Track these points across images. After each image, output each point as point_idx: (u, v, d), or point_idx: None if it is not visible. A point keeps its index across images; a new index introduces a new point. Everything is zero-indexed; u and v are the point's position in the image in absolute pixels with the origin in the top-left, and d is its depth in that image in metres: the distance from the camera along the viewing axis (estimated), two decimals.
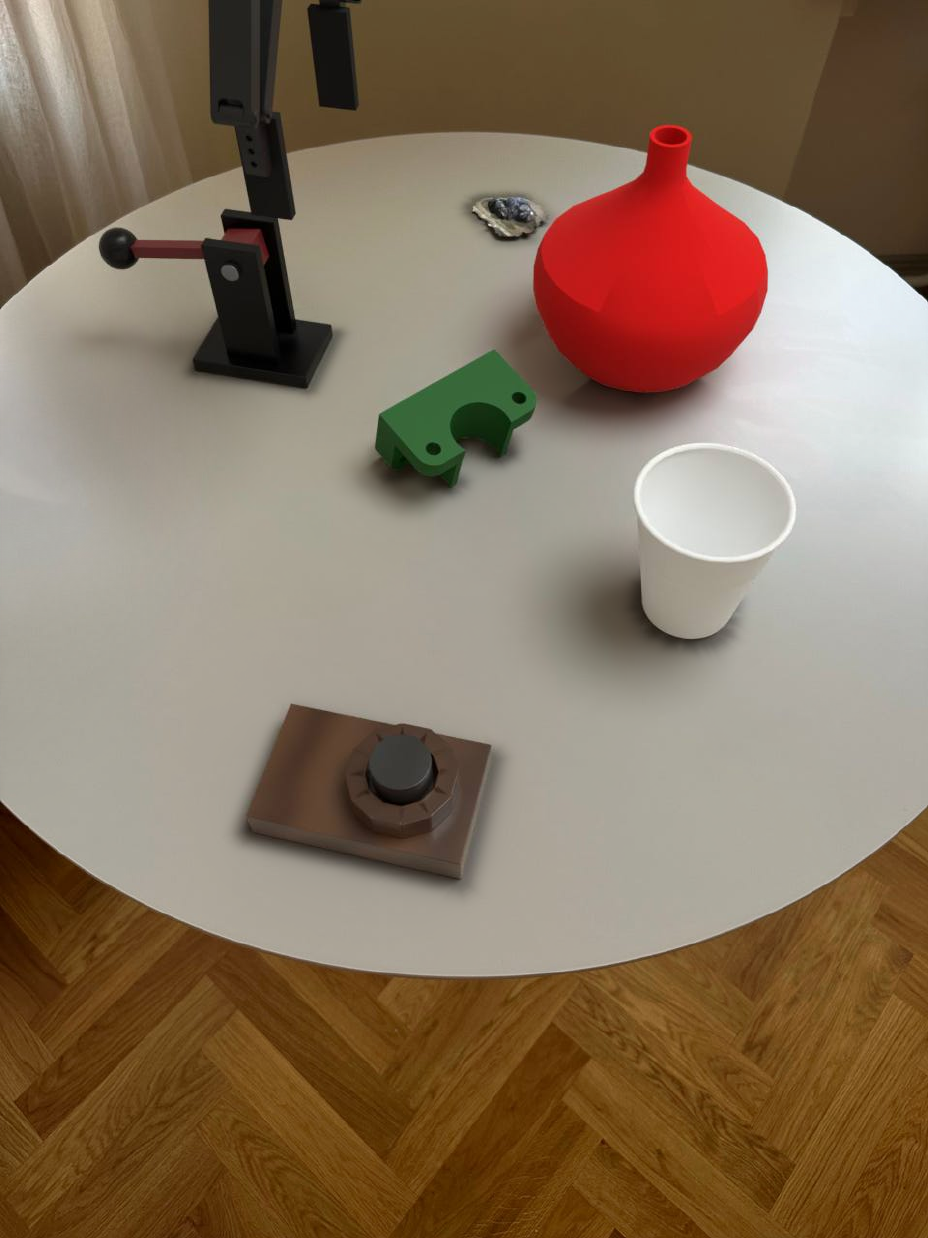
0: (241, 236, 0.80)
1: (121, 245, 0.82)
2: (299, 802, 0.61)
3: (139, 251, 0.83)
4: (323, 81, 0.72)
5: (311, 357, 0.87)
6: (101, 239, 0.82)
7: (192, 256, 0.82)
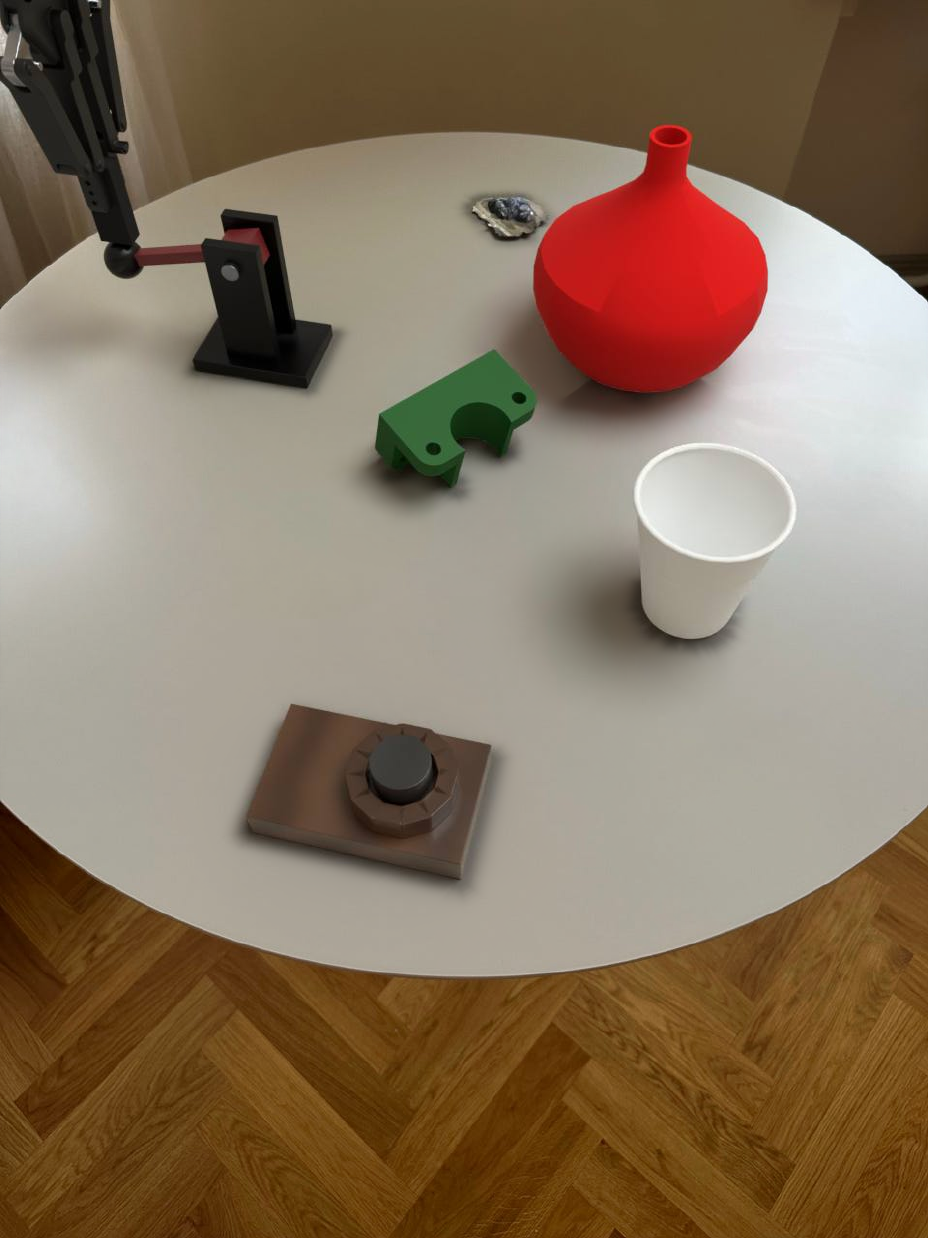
0: (240, 236, 0.80)
1: (125, 254, 0.83)
2: (299, 802, 0.61)
3: (143, 259, 0.83)
4: None
5: (311, 357, 0.87)
6: (105, 250, 0.83)
7: (194, 260, 0.82)
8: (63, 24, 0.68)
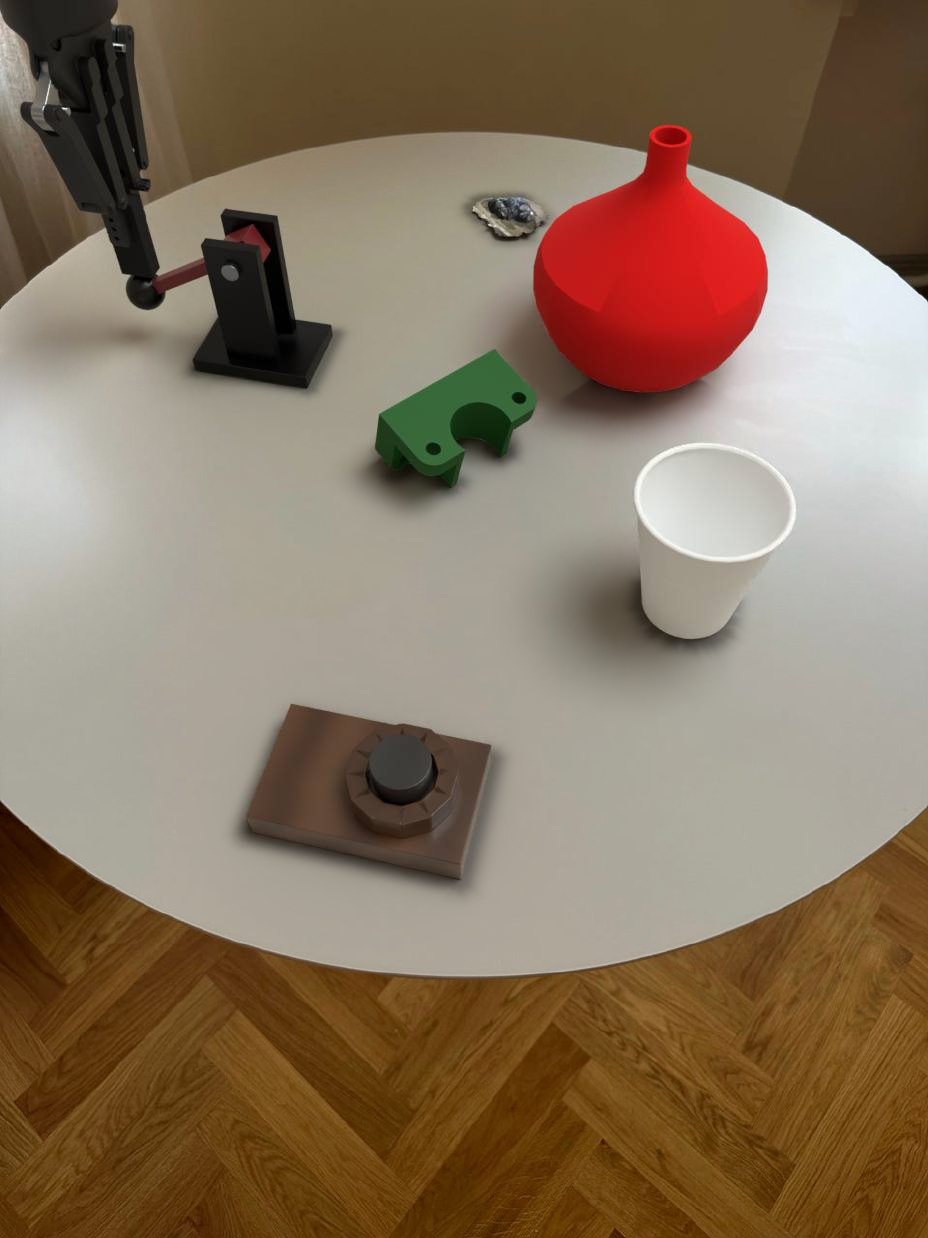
0: (236, 236, 0.80)
1: (142, 284, 0.85)
2: (299, 802, 0.61)
3: (159, 285, 0.85)
4: None
5: (311, 357, 0.87)
6: (126, 285, 0.86)
7: (203, 273, 0.83)
8: (90, 70, 0.70)
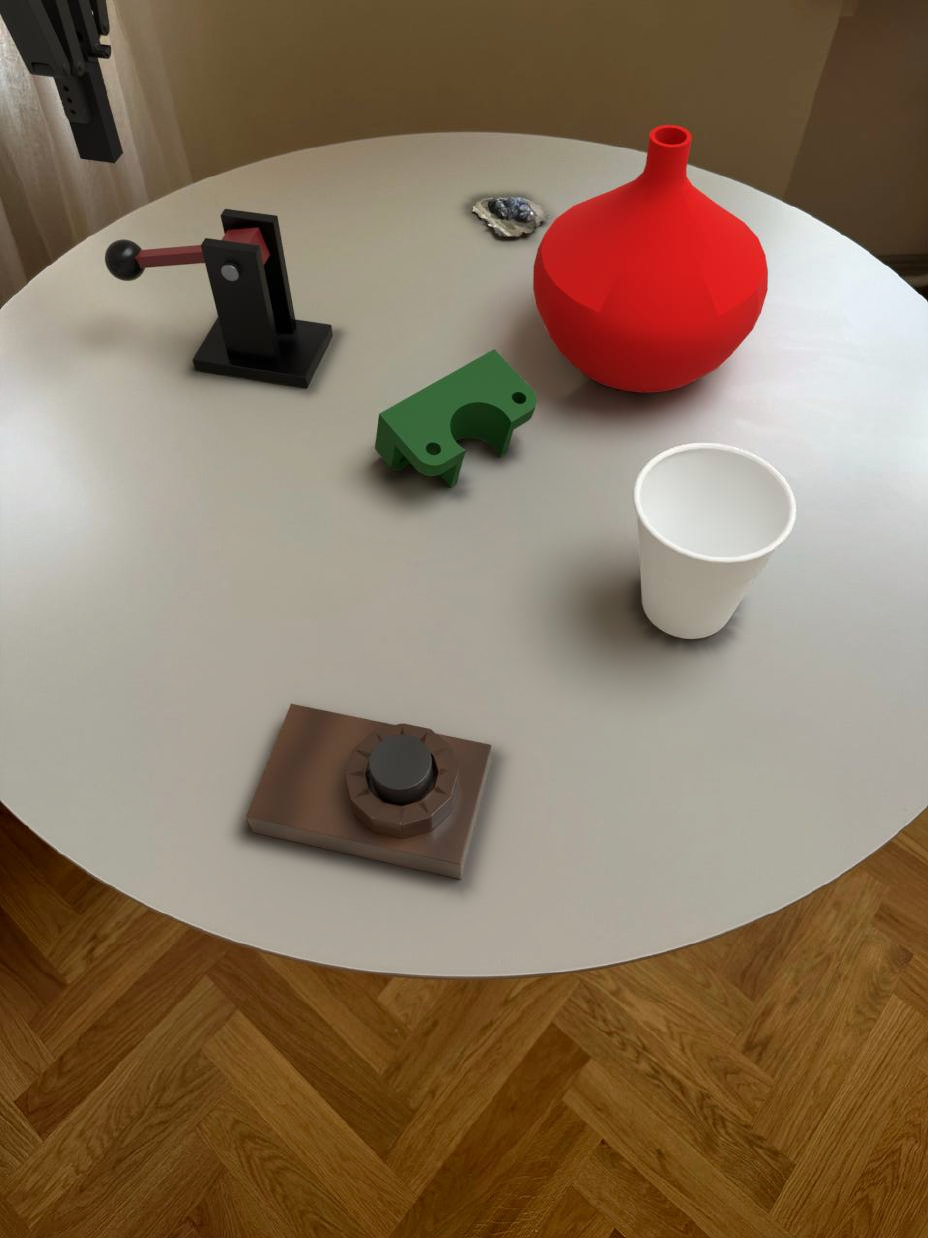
0: (239, 236, 0.80)
1: (125, 256, 0.83)
2: (299, 802, 0.61)
3: (143, 261, 0.83)
4: None
5: (311, 357, 0.87)
6: (106, 252, 0.83)
7: (194, 261, 0.82)
8: None
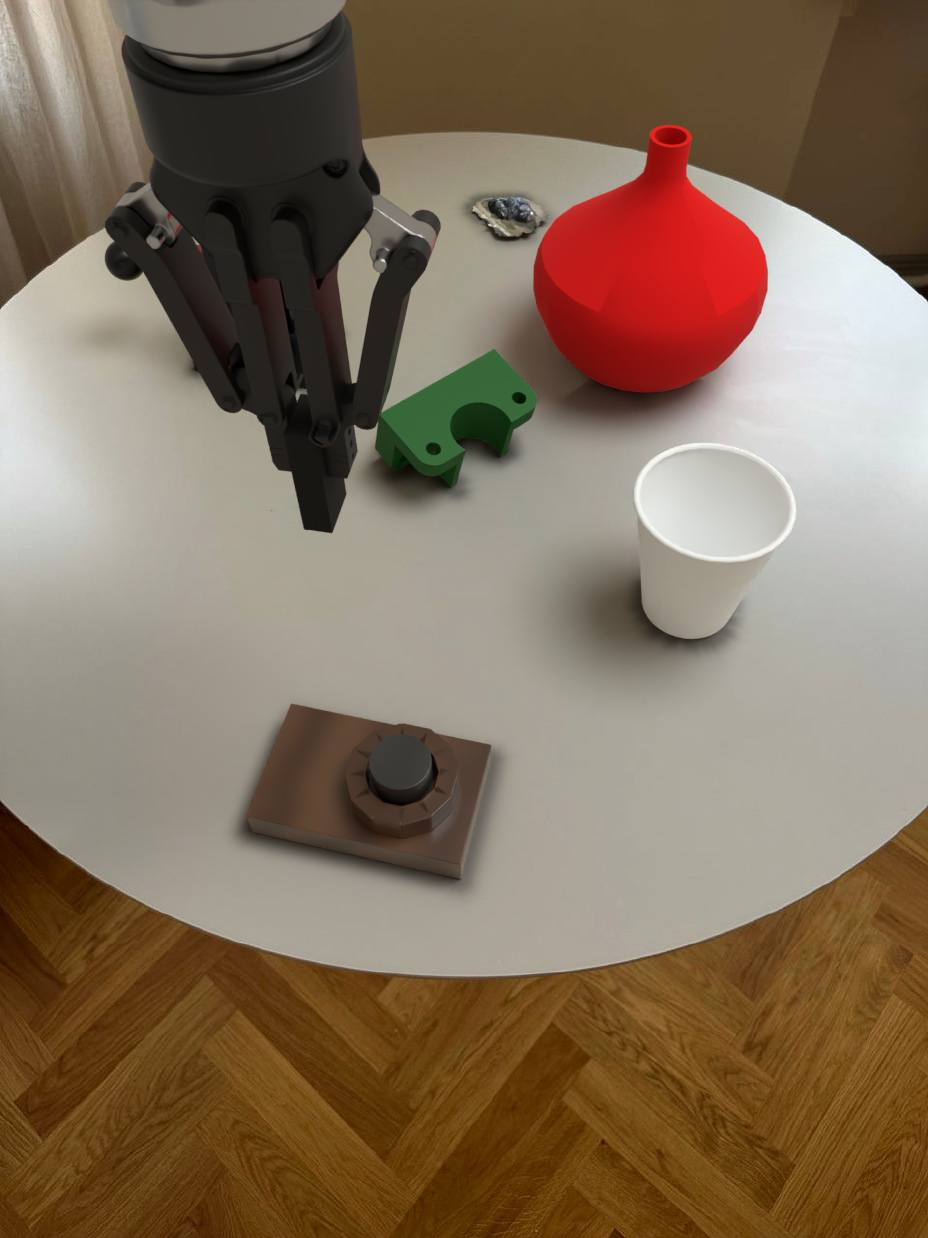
0: None
1: (125, 256, 0.83)
2: (299, 802, 0.61)
3: None
4: None
5: None
6: (106, 252, 0.83)
7: None
8: (209, 228, 0.38)
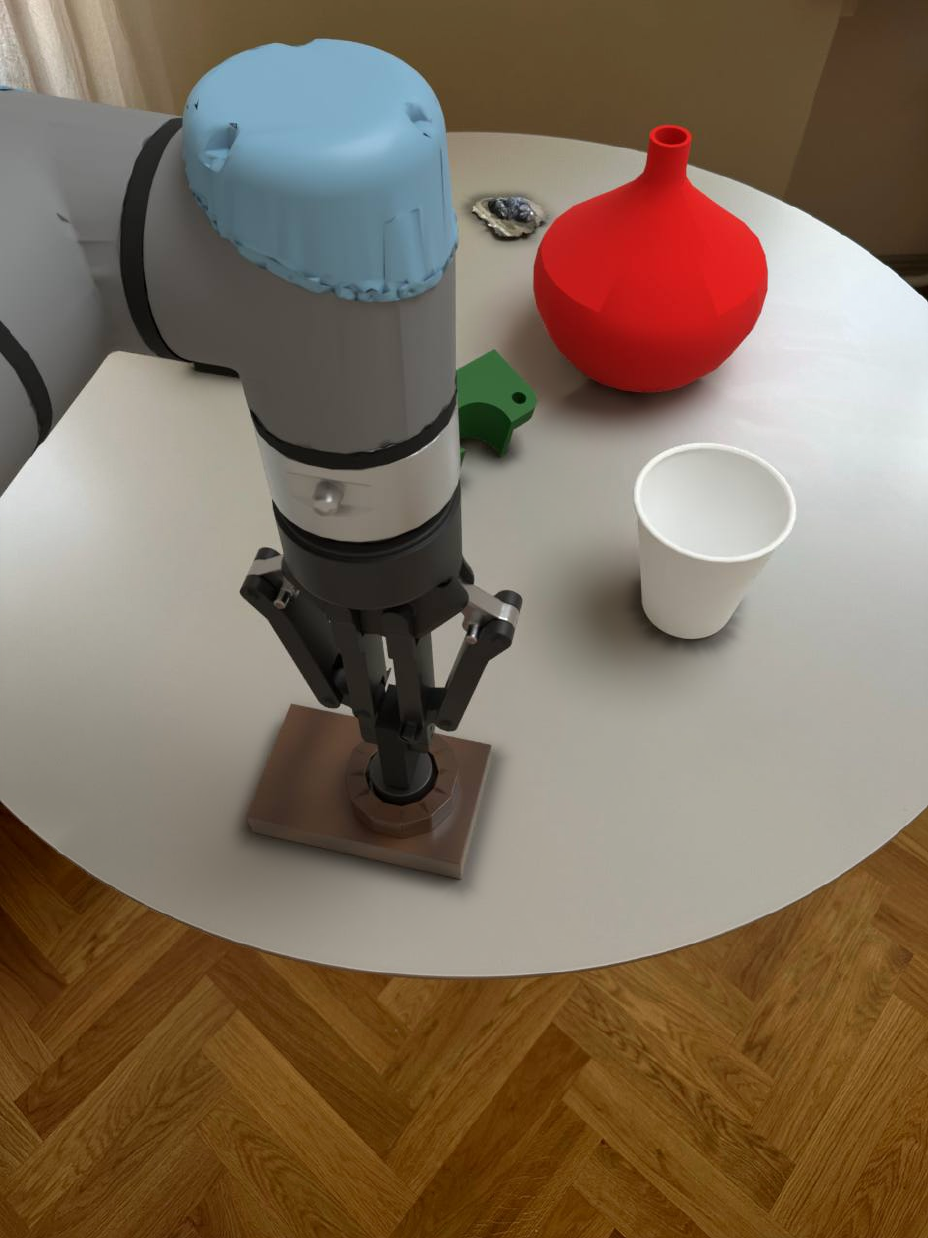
0: None
1: None
2: (299, 802, 0.61)
3: None
4: None
5: None
6: None
7: None
8: (330, 610, 0.45)
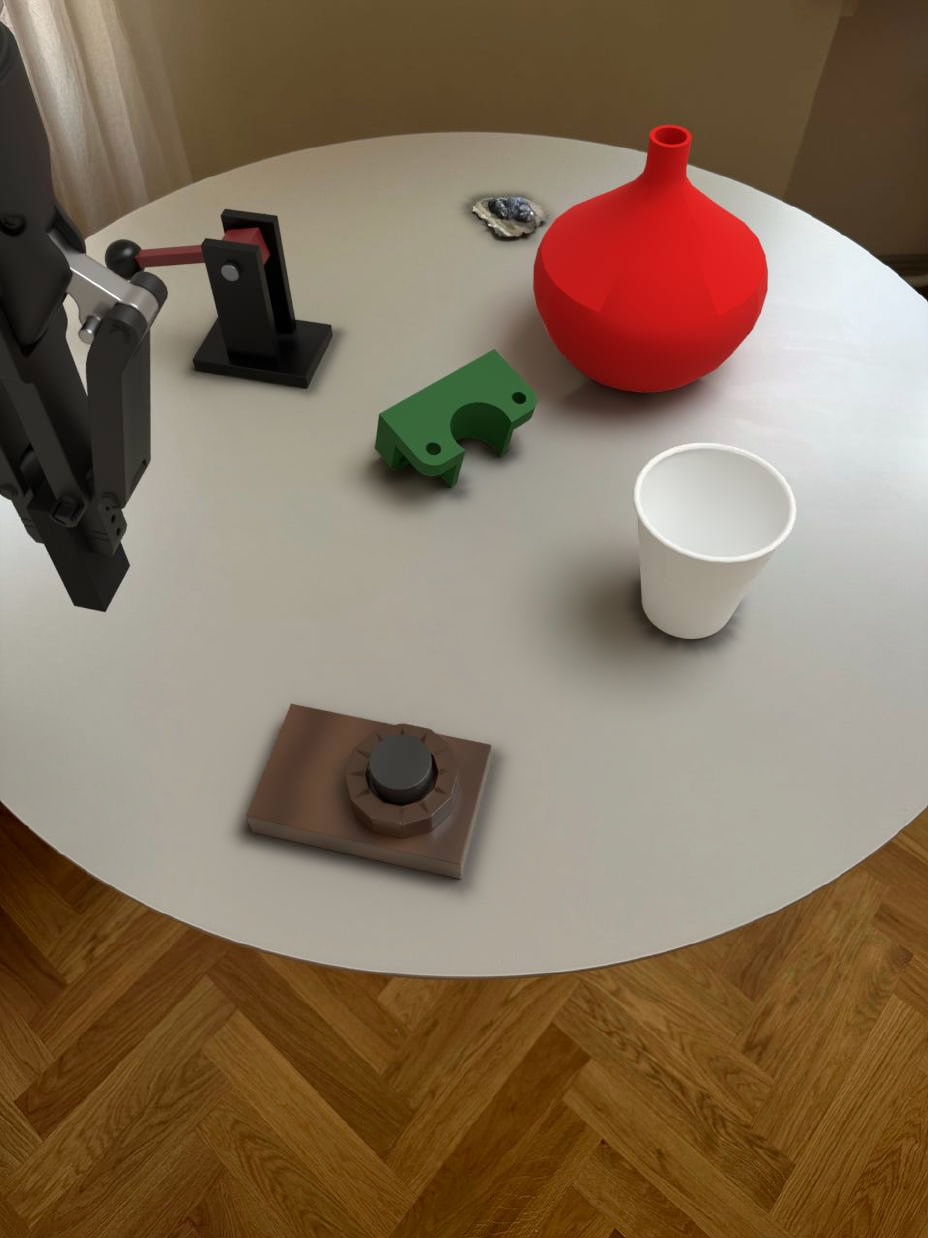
0: (239, 236, 0.80)
1: (125, 256, 0.83)
2: (299, 802, 0.61)
3: (143, 260, 0.83)
4: None
5: (311, 357, 0.87)
6: (106, 252, 0.83)
7: (194, 261, 0.82)
8: None
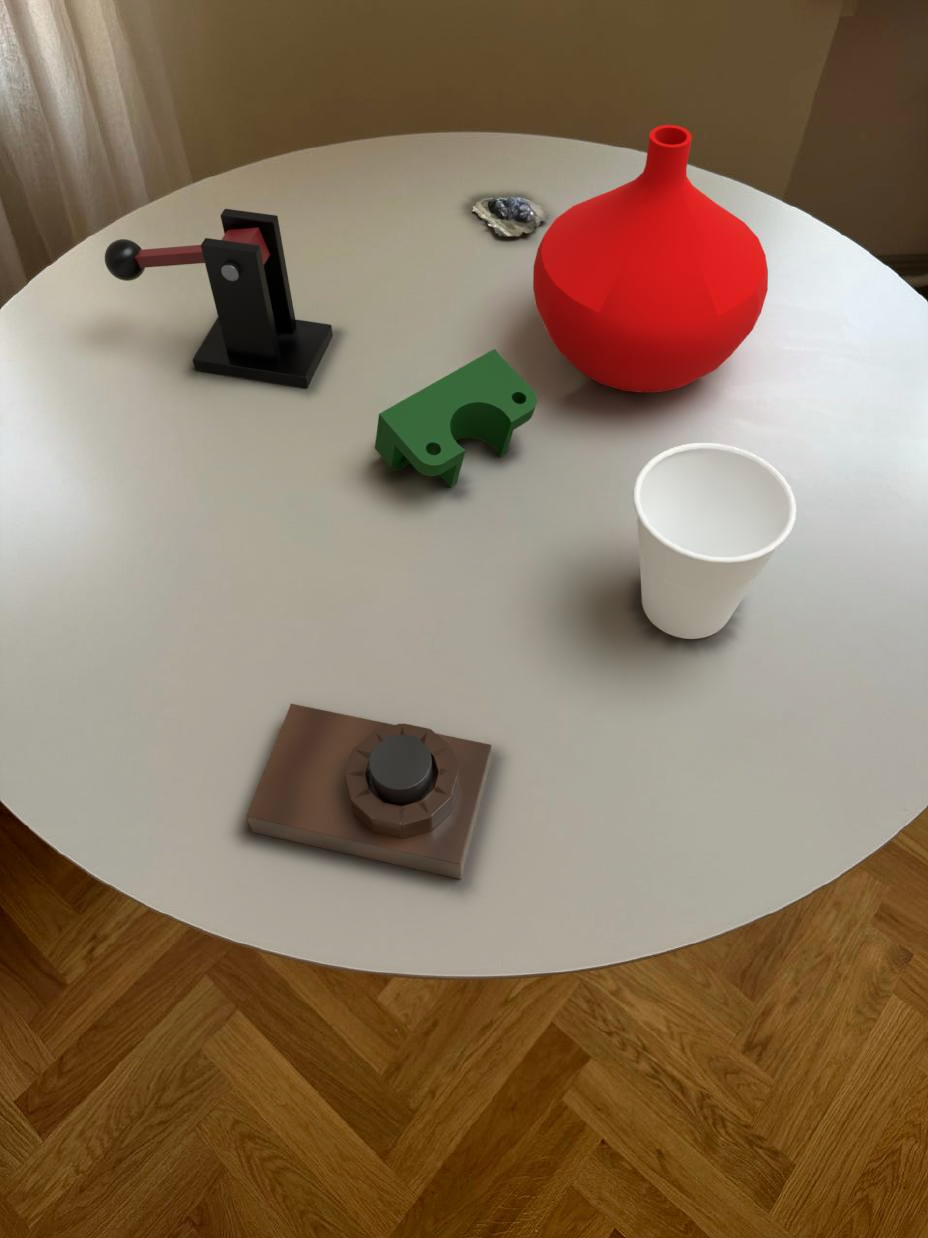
0: (239, 236, 0.80)
1: (125, 256, 0.83)
2: (299, 802, 0.61)
3: (143, 260, 0.83)
4: None
5: (311, 357, 0.87)
6: (106, 252, 0.83)
7: (194, 261, 0.82)
8: None
